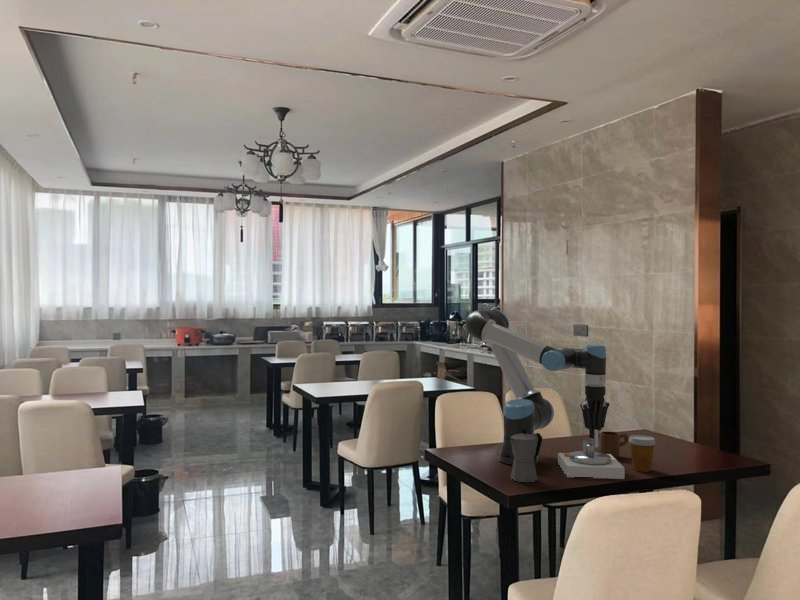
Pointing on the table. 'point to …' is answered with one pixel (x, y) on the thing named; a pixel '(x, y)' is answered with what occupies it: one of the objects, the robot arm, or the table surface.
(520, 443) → the coffeepot
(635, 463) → the disposable coffee cup
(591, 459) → the dial
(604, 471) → the dial housing
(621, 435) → the mug
